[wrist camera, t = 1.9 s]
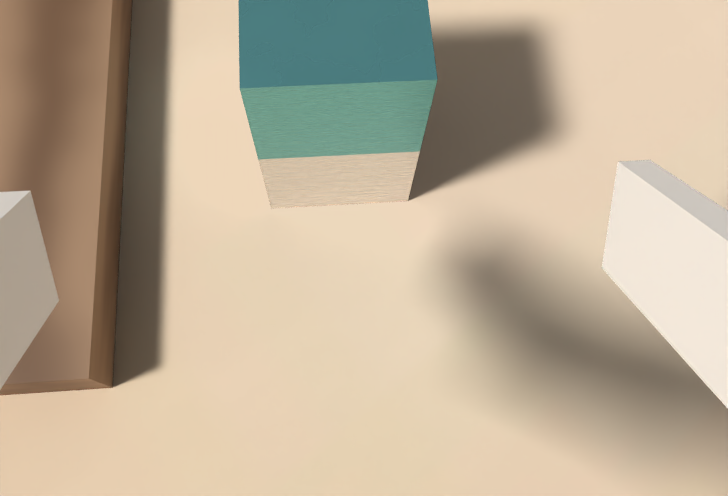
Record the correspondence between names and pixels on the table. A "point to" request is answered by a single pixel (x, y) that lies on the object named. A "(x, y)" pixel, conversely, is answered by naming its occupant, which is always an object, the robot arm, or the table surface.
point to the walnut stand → (68, 173)
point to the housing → (336, 96)
